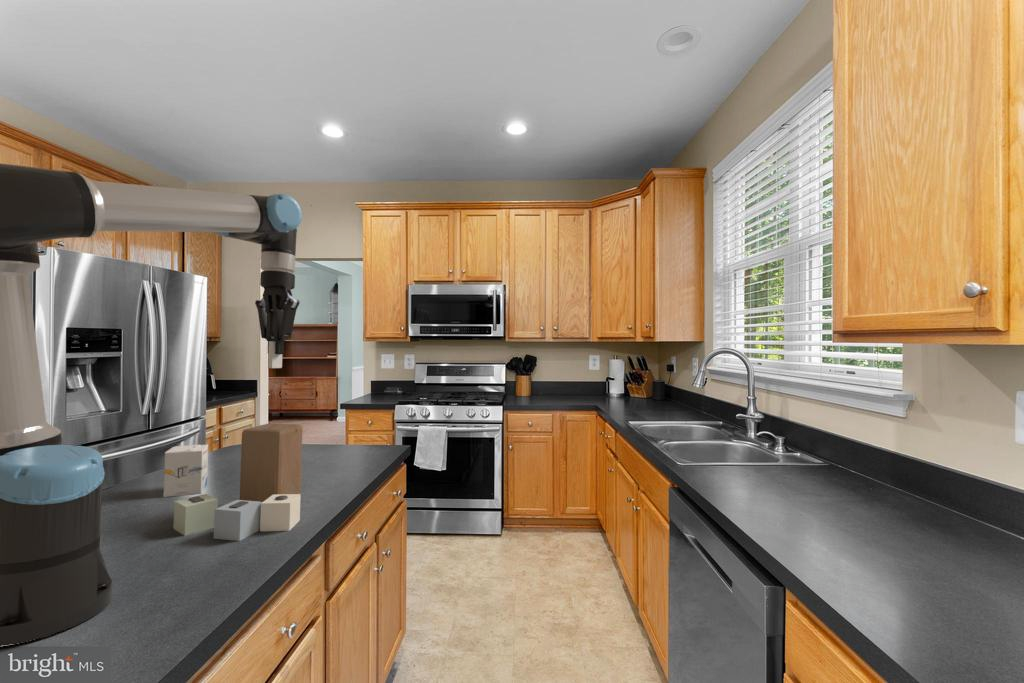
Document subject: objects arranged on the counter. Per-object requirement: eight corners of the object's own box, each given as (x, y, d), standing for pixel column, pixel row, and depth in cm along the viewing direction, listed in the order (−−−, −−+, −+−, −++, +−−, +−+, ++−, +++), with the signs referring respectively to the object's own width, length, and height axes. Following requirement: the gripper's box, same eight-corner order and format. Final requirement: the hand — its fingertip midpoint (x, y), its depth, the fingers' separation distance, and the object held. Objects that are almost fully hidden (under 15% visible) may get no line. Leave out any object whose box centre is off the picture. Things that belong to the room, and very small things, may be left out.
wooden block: (301, 503, 113) (304, 424, 113) (277, 517, 103) (280, 430, 103) (264, 501, 114) (267, 422, 114) (236, 515, 104) (239, 429, 104)
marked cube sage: (184, 536, 92) (185, 505, 92) (173, 529, 95) (174, 499, 96) (217, 527, 97) (218, 497, 97) (205, 520, 100) (206, 492, 101)
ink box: (171, 488, 123) (172, 445, 123) (207, 484, 126) (209, 443, 126) (162, 497, 115) (163, 452, 115) (201, 494, 118) (203, 449, 119)
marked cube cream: (289, 531, 96) (290, 501, 96) (260, 531, 95) (261, 502, 95) (299, 520, 102) (300, 492, 102) (272, 521, 101) (273, 493, 101)
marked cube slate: (239, 541, 90) (240, 510, 90) (213, 538, 91) (214, 507, 91) (260, 529, 96) (261, 500, 96) (236, 527, 97) (237, 498, 97)
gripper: (309, 273, 110) (306, 368, 110) (273, 276, 116) (270, 366, 115) (283, 267, 103) (279, 369, 103) (246, 271, 109) (242, 367, 108)
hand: (274, 367), depth 109 cm, fingers closed
